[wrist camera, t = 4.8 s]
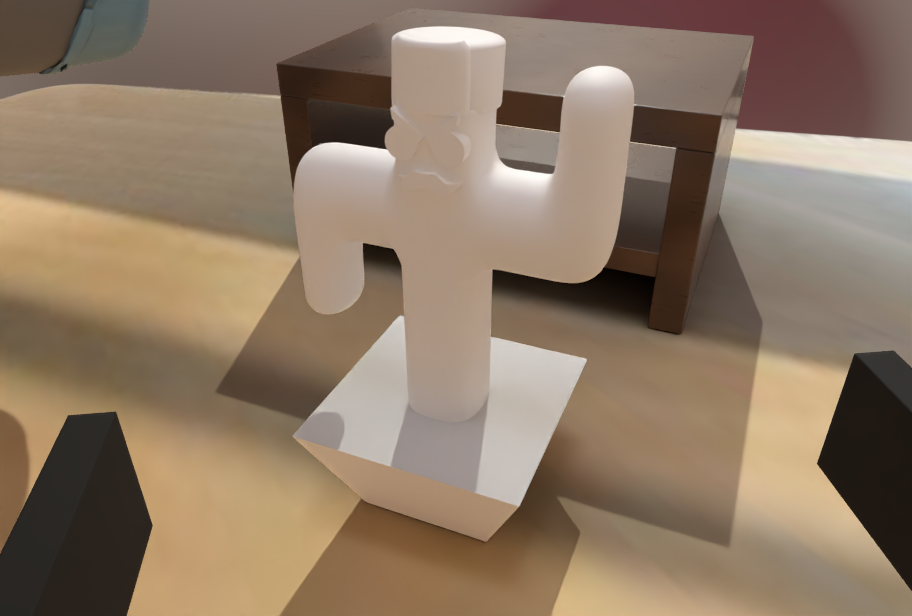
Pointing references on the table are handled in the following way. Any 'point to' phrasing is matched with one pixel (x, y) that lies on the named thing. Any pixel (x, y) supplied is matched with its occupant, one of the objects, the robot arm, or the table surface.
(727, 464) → the table surface
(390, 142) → the figurine
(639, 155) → the shelf stand
